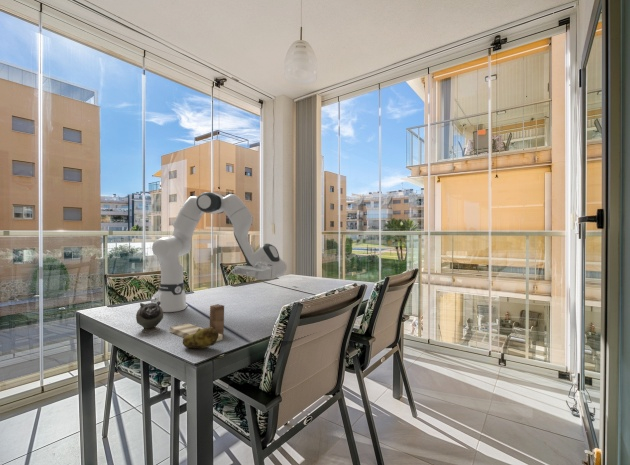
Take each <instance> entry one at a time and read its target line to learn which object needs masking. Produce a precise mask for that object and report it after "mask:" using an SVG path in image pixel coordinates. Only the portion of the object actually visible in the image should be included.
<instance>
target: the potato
mask: <svg viewBox="0 0 630 465" xmlns="http://www.w3.org/2000/svg"><path fill="white" fill-rule="evenodd" d="M217 339H218V332H217V331H216V330H215V329H213V328H208V327H205V328H204V329H201V330H199V331H198V332H196V333H194V334H190V335H188V336H186V337H183V339H182V345H183V346H184V348H187V349H190V348H191V349H198V350H199V349H204V348H207V347H212V346H214V345H215V344H216V341H217ZM217 342H218V341H217Z"/></svg>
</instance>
